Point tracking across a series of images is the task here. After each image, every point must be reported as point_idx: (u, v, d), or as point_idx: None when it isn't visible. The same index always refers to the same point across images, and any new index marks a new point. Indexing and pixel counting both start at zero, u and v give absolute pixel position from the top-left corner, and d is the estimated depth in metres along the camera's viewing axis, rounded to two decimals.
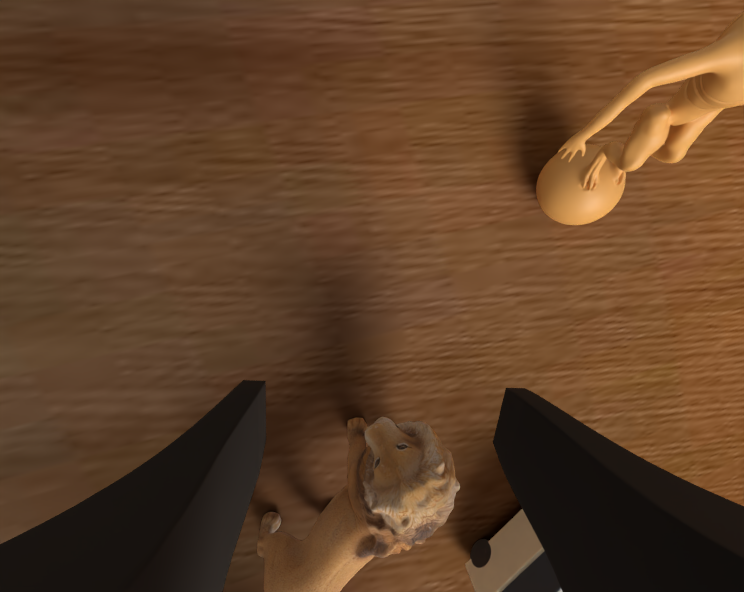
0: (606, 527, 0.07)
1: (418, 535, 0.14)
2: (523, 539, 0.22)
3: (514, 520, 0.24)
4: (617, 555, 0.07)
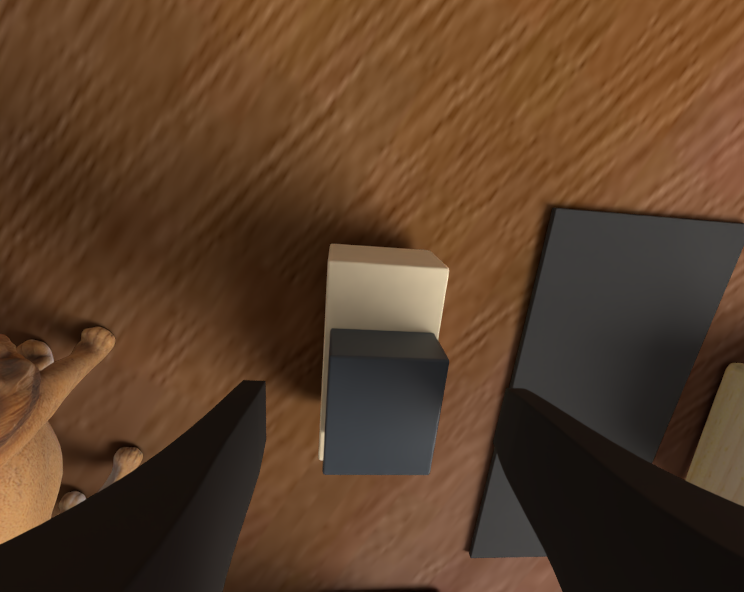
0: (606, 527, 0.07)
1: None
2: None
3: None
4: (617, 555, 0.07)
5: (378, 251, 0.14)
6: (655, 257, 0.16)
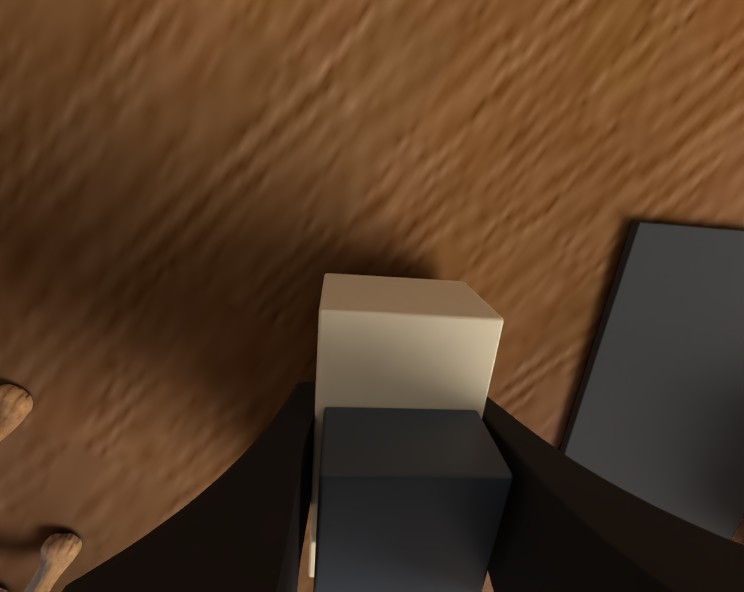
0: (527, 528, 0.07)
1: None
2: None
3: None
4: (535, 557, 0.07)
5: (393, 286, 0.09)
6: None
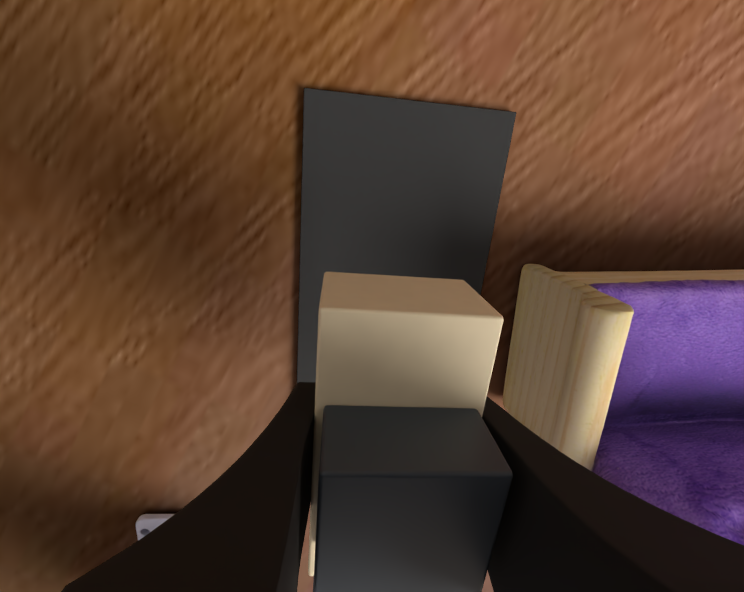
0: (528, 528, 0.07)
1: None
2: None
3: None
4: (535, 557, 0.07)
5: (393, 285, 0.09)
6: (420, 146, 0.16)
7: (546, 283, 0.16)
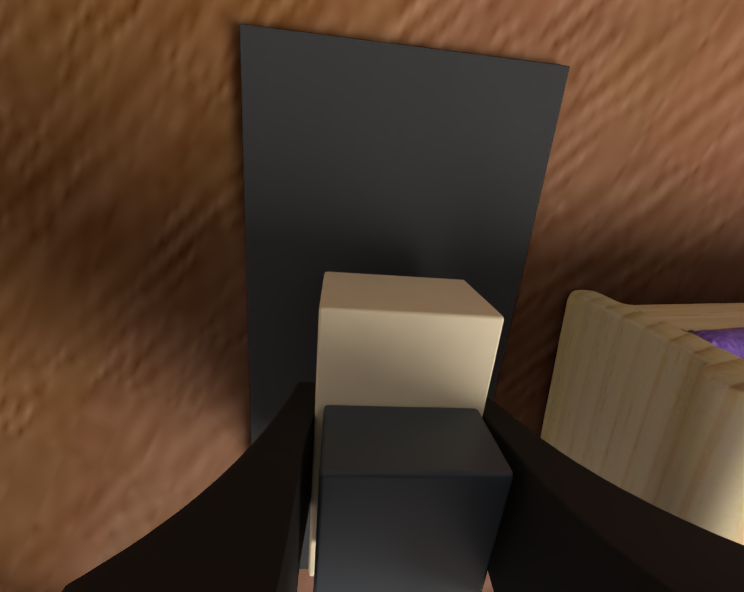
0: (528, 528, 0.07)
1: None
2: None
3: None
4: (535, 557, 0.07)
5: (393, 284, 0.09)
6: (423, 119, 0.10)
7: (614, 324, 0.11)
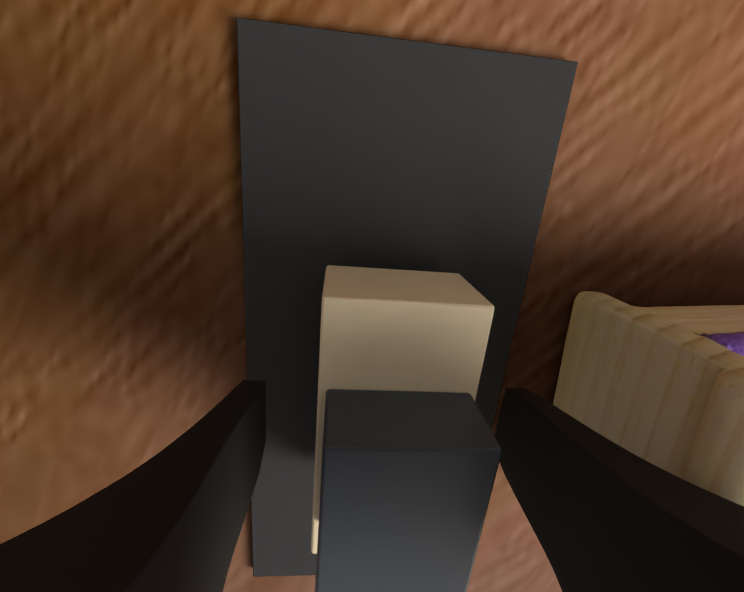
0: (606, 527, 0.07)
1: None
2: None
3: None
4: (617, 555, 0.07)
5: (392, 277, 0.10)
6: (426, 116, 0.10)
7: (624, 327, 0.10)
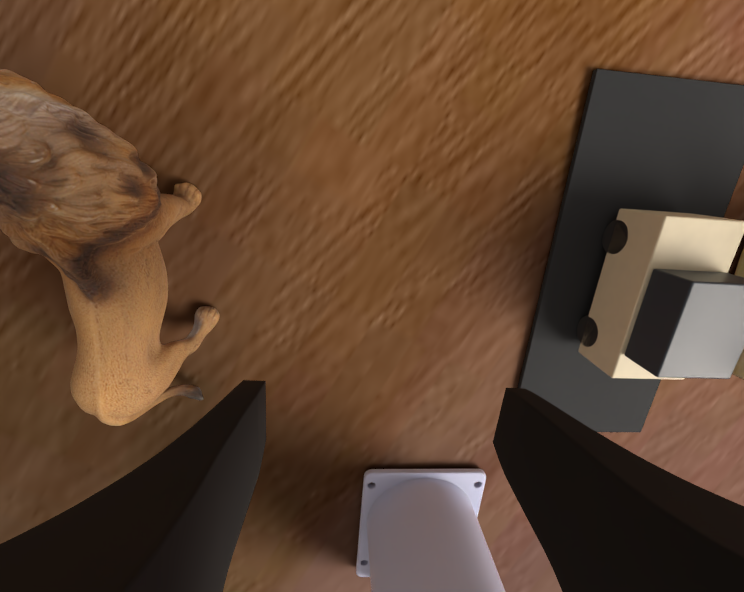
0: (606, 527, 0.07)
1: None
2: (620, 288, 0.18)
3: (603, 277, 0.19)
4: (617, 555, 0.07)
5: (668, 212, 0.17)
6: (684, 120, 0.18)
7: None
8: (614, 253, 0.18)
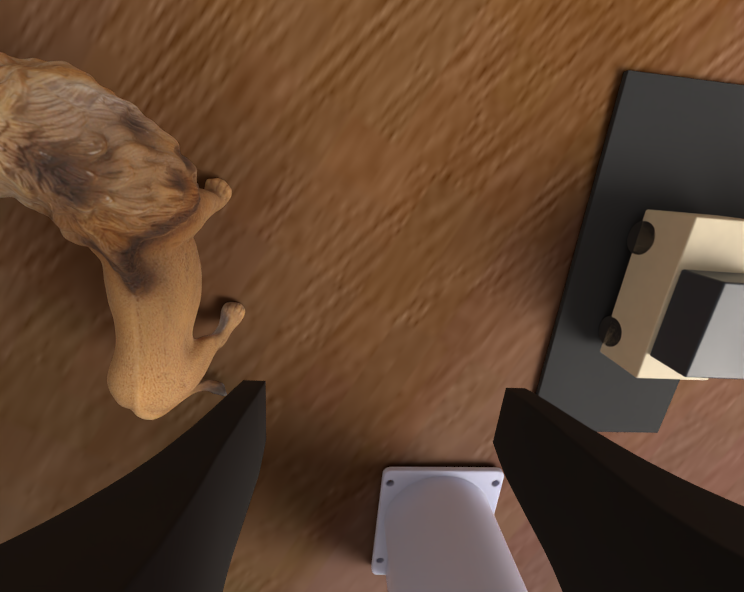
0: (606, 527, 0.07)
1: (50, 179, 0.09)
2: (646, 288, 0.18)
3: (627, 278, 0.19)
4: (617, 555, 0.07)
5: (695, 214, 0.18)
6: (712, 123, 0.18)
7: None
8: (640, 254, 0.18)
